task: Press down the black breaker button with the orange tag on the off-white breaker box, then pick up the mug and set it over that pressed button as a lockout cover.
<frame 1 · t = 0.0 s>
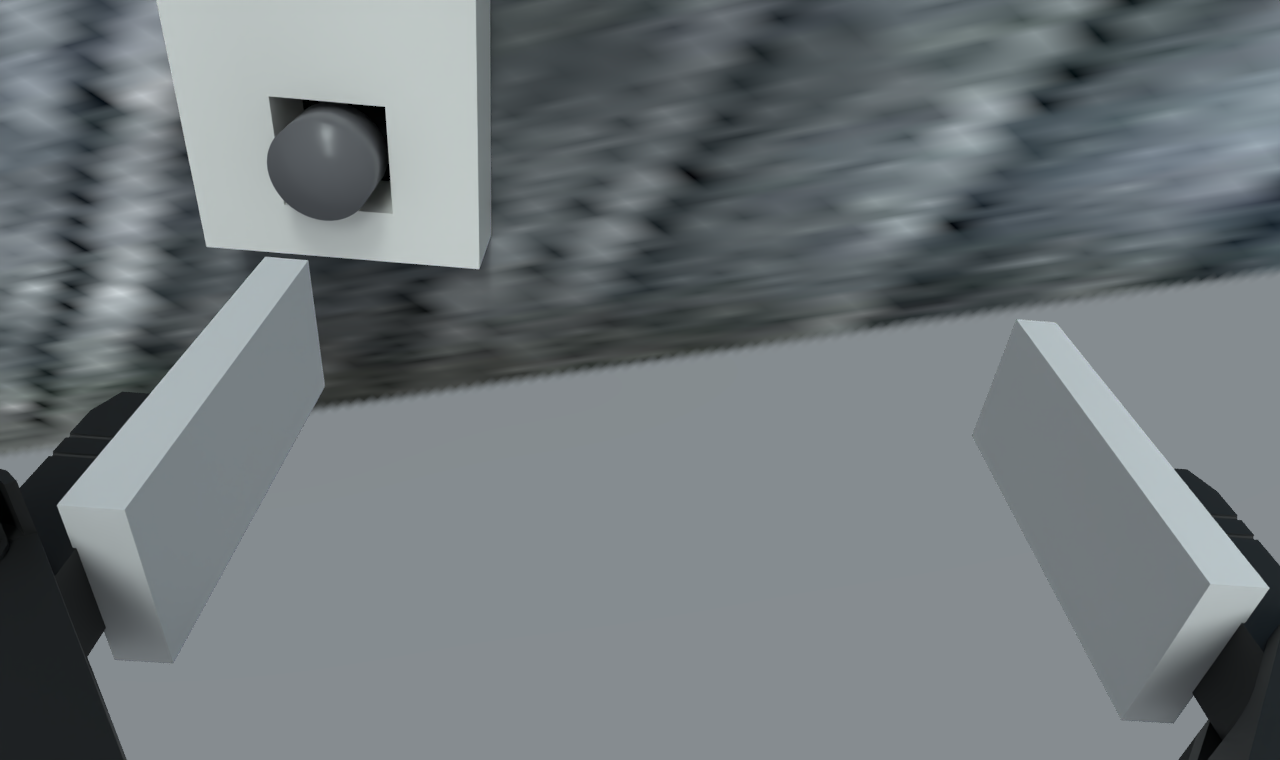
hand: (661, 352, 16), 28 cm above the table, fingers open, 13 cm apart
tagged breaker: (329, 161, 38), point 5 cm above the table, slide at 0.0 cm
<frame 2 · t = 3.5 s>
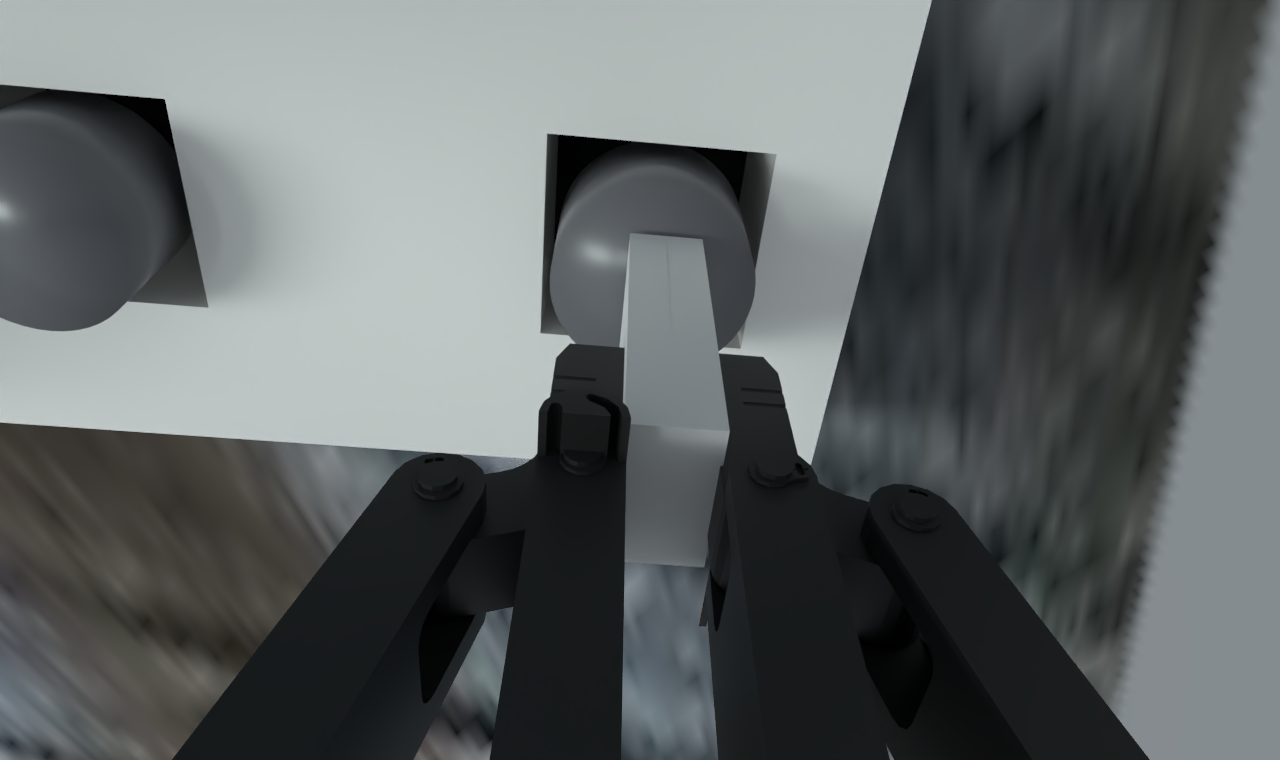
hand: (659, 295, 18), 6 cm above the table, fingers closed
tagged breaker: (651, 257, 20), point 4 cm above the table, slide at 0.1 cm, touching gripper
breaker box: (425, 166, 23), on the table
plain breaker: (61, 210, 19), point 4 cm above the table, slide at 0.0 cm
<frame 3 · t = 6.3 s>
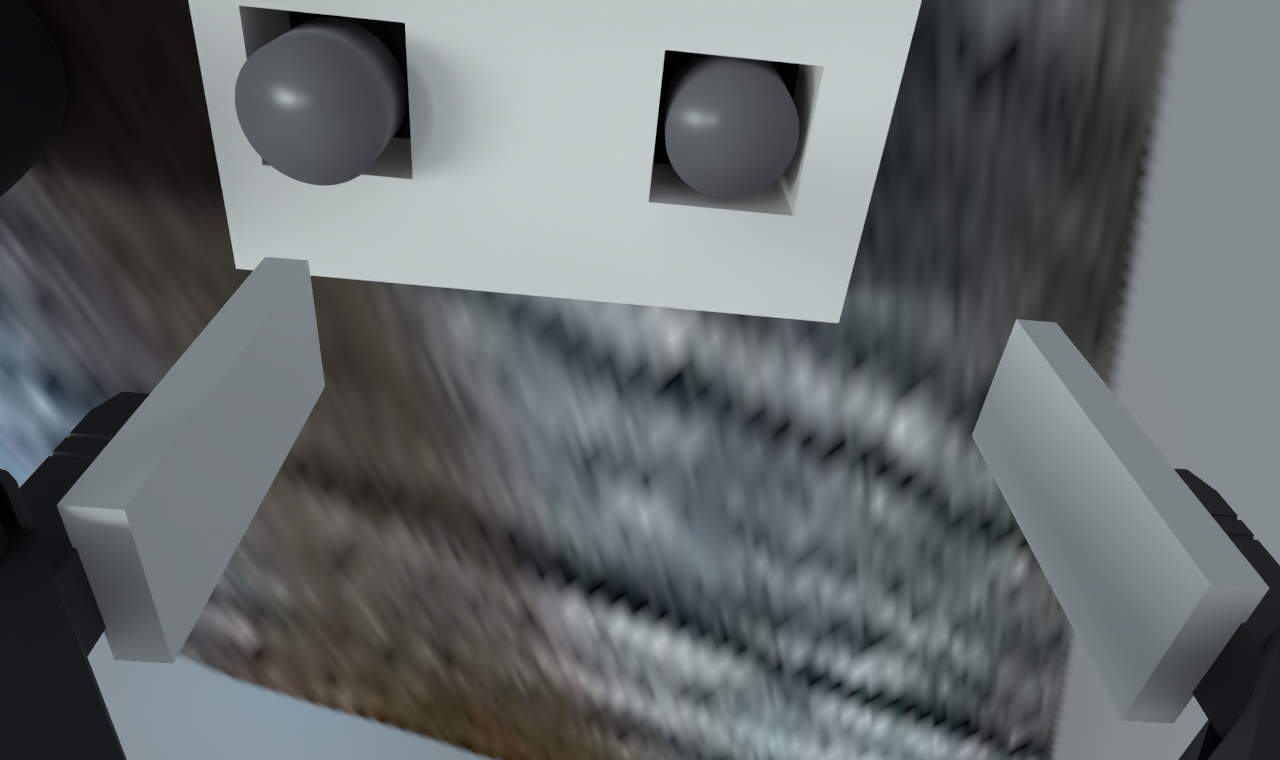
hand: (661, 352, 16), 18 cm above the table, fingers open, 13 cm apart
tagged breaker: (728, 121, 30), point 2 cm above the table, slide at 2.2 cm
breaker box: (559, 86, 31), on the table
plain breaker: (325, 101, 27), point 5 cm above the table, slide at 0.0 cm
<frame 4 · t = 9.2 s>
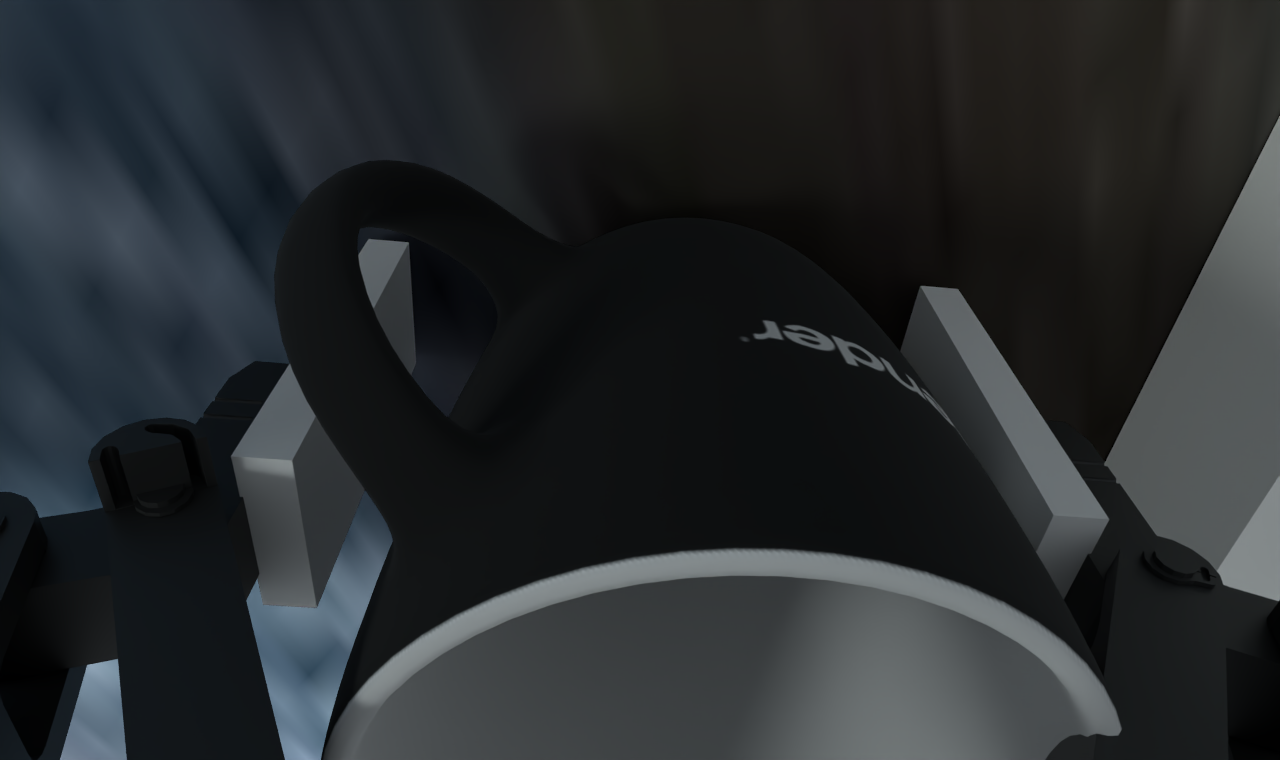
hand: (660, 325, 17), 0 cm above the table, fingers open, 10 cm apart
mug: (630, 304, 18), on the table, touching gripper
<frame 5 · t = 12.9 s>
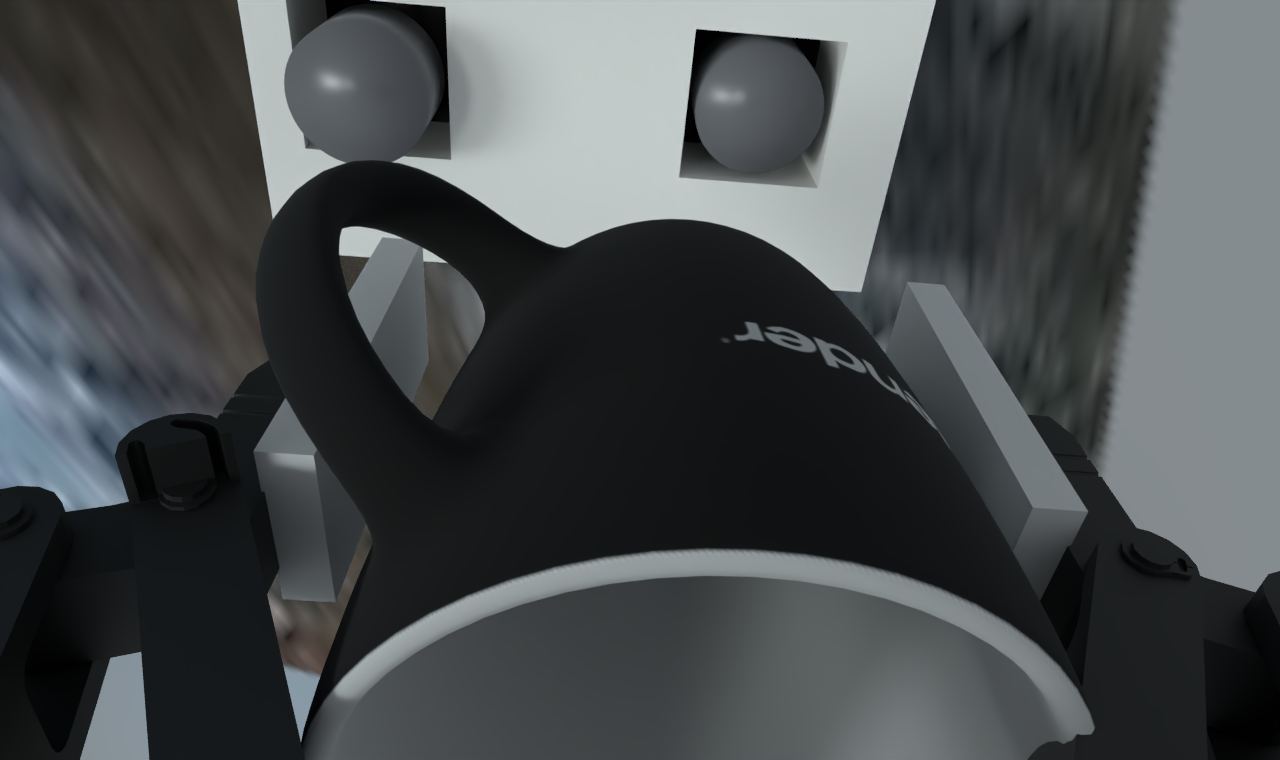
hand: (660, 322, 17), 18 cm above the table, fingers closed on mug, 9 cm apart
mug: (620, 305, 18), point 18 cm above the table, touching gripper
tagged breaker: (754, 98, 31), point 2 cm above the table, slide at 2.2 cm
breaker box: (588, 67, 32), on the table
plain breaker: (368, 84, 28), point 4 cm above the table, slide at 0.0 cm
when the fingers open (5 cm above the table, at t = 16.1 s): mug moves 1 cm, resting on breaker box.
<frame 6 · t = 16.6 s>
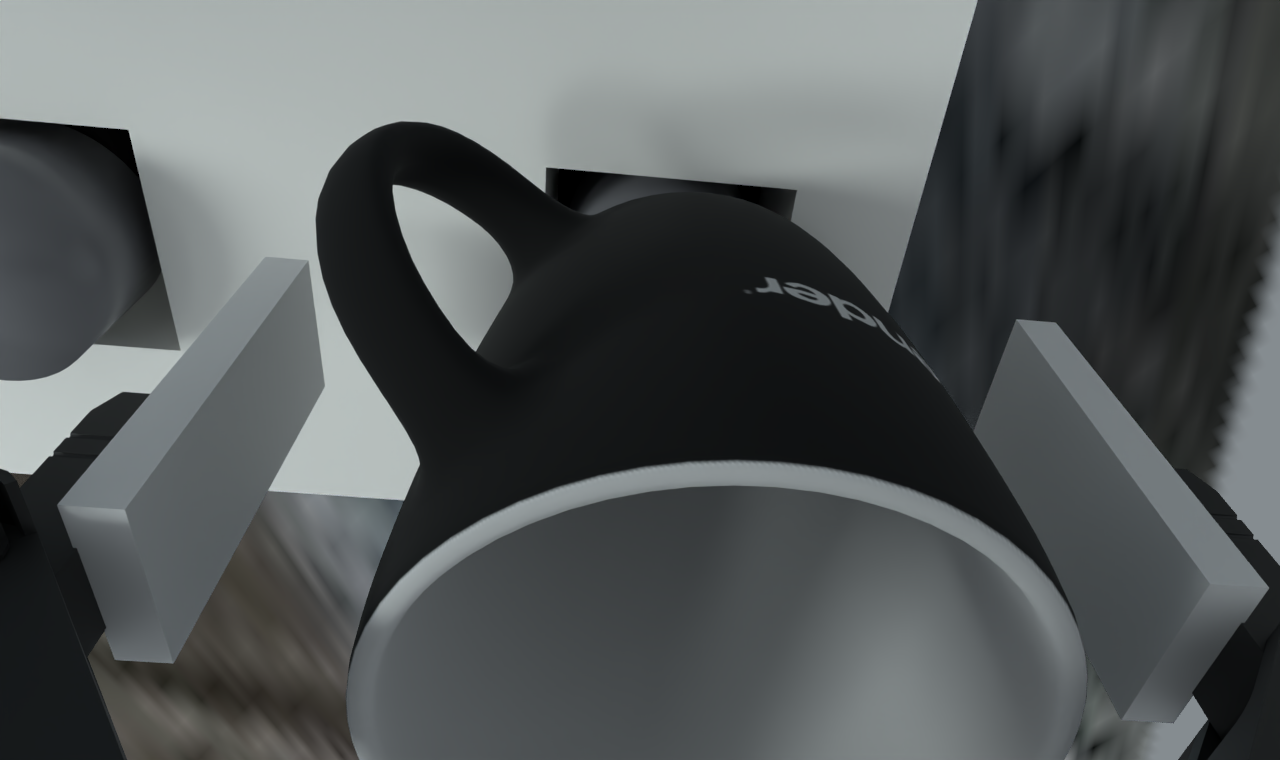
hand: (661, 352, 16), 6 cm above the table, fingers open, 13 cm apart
mug: (637, 277, 18), point 4 cm above the table, touching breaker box
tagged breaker: (658, 256, 20), point 2 cm above the table, slide at 2.2 cm
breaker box: (416, 195, 21), on the table
plain breaker: (17, 248, 17), point 4 cm above the table, slide at 0.0 cm
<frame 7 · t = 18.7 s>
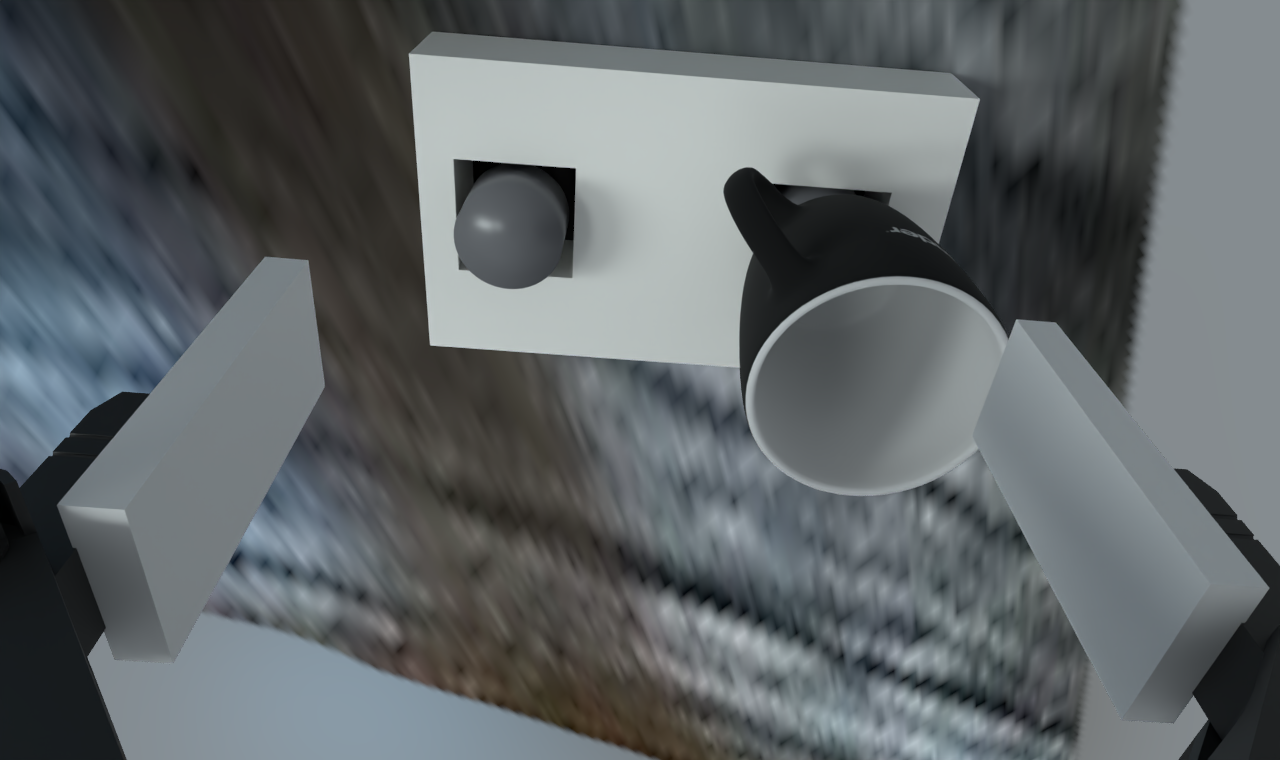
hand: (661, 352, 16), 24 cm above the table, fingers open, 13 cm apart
mug: (808, 237, 37), point 4 cm above the table, touching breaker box
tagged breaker: (814, 228, 38), point 2 cm above the table, slide at 2.2 cm
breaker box: (678, 198, 40), on the table
plain breaker: (513, 225, 36), point 4 cm above the table, slide at 0.0 cm
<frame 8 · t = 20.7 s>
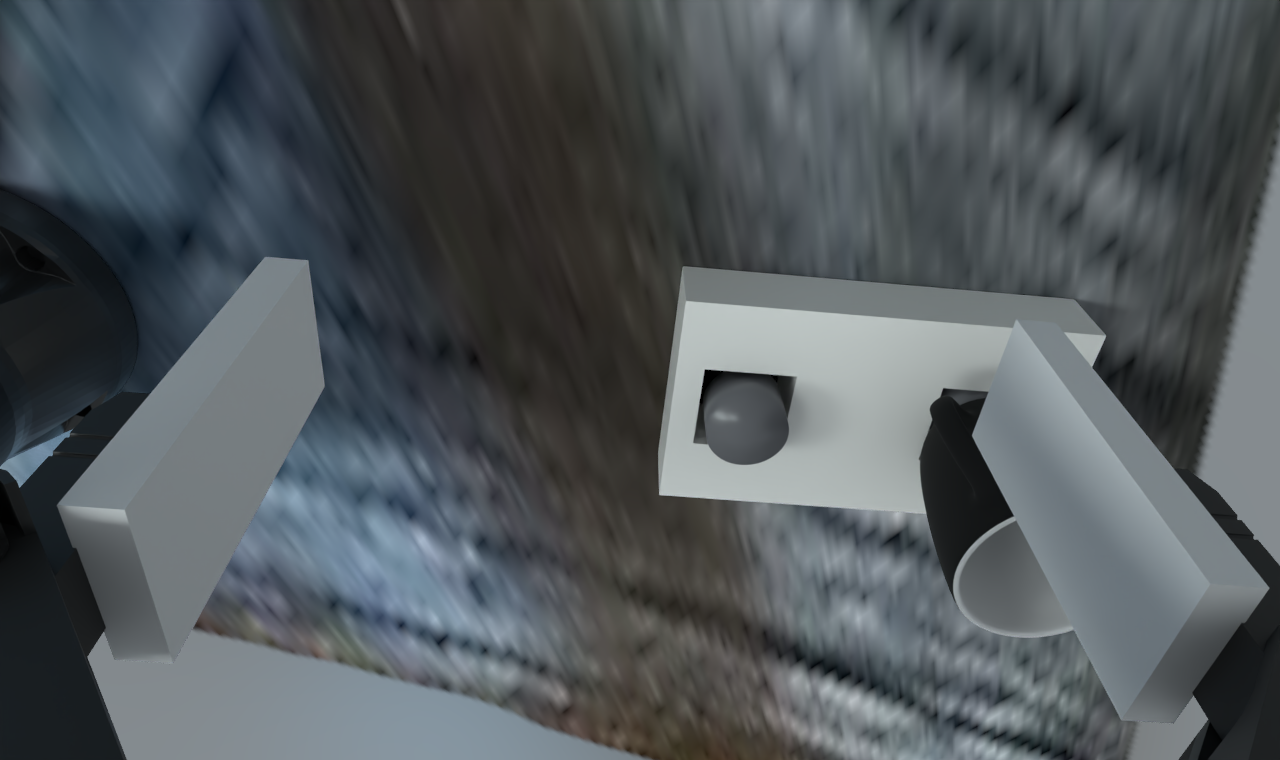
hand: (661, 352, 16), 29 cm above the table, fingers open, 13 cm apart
mug: (965, 423, 48), point 4 cm above the table, touching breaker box
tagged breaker: (964, 411, 50), point 2 cm above the table, slide at 2.2 cm
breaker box: (853, 380, 51), on the table
plain breaker: (744, 416, 47), point 5 cm above the table, slide at 0.0 cm
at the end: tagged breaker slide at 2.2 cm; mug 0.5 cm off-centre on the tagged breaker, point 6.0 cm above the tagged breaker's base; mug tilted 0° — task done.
